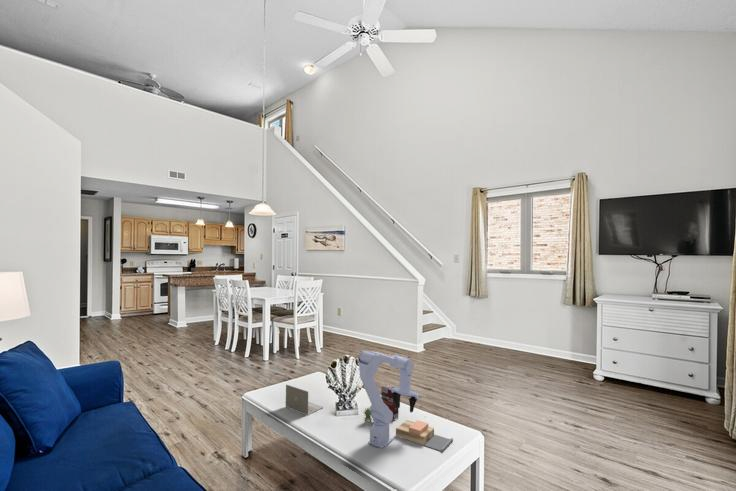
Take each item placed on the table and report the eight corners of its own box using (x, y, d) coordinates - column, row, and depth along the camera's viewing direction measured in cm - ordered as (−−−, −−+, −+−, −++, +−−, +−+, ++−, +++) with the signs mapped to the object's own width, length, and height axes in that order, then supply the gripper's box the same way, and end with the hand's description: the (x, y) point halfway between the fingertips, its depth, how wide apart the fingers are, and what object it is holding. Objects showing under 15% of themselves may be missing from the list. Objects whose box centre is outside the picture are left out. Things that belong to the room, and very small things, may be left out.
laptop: (323, 408, 210) (323, 385, 210) (307, 416, 200) (307, 391, 200) (301, 400, 221) (301, 378, 221) (285, 407, 210) (285, 384, 211)
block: (420, 435, 172) (420, 430, 172) (408, 431, 176) (408, 427, 176) (428, 427, 180) (428, 423, 180) (417, 424, 183) (417, 420, 183)
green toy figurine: (366, 415, 201) (366, 401, 201) (384, 421, 193) (384, 407, 193) (351, 423, 191) (352, 408, 192) (369, 430, 184) (369, 415, 184)
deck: (423, 445, 170) (423, 437, 170) (395, 435, 179) (395, 428, 179) (433, 435, 179) (434, 428, 179) (406, 427, 188) (406, 420, 188)
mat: (442, 452, 164) (442, 449, 164) (424, 445, 170) (424, 443, 170) (452, 441, 174) (453, 438, 174) (434, 435, 179) (435, 432, 179)
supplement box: (380, 416, 200) (380, 387, 200) (386, 413, 203) (386, 384, 203) (393, 421, 194) (393, 391, 194) (399, 417, 198) (399, 388, 198)
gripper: (421, 383, 184) (421, 410, 183) (396, 377, 192) (396, 403, 192) (415, 387, 178) (415, 415, 178) (389, 381, 186) (389, 408, 186)
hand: (404, 409), depth 184 cm, fingers open, 7 cm apart
